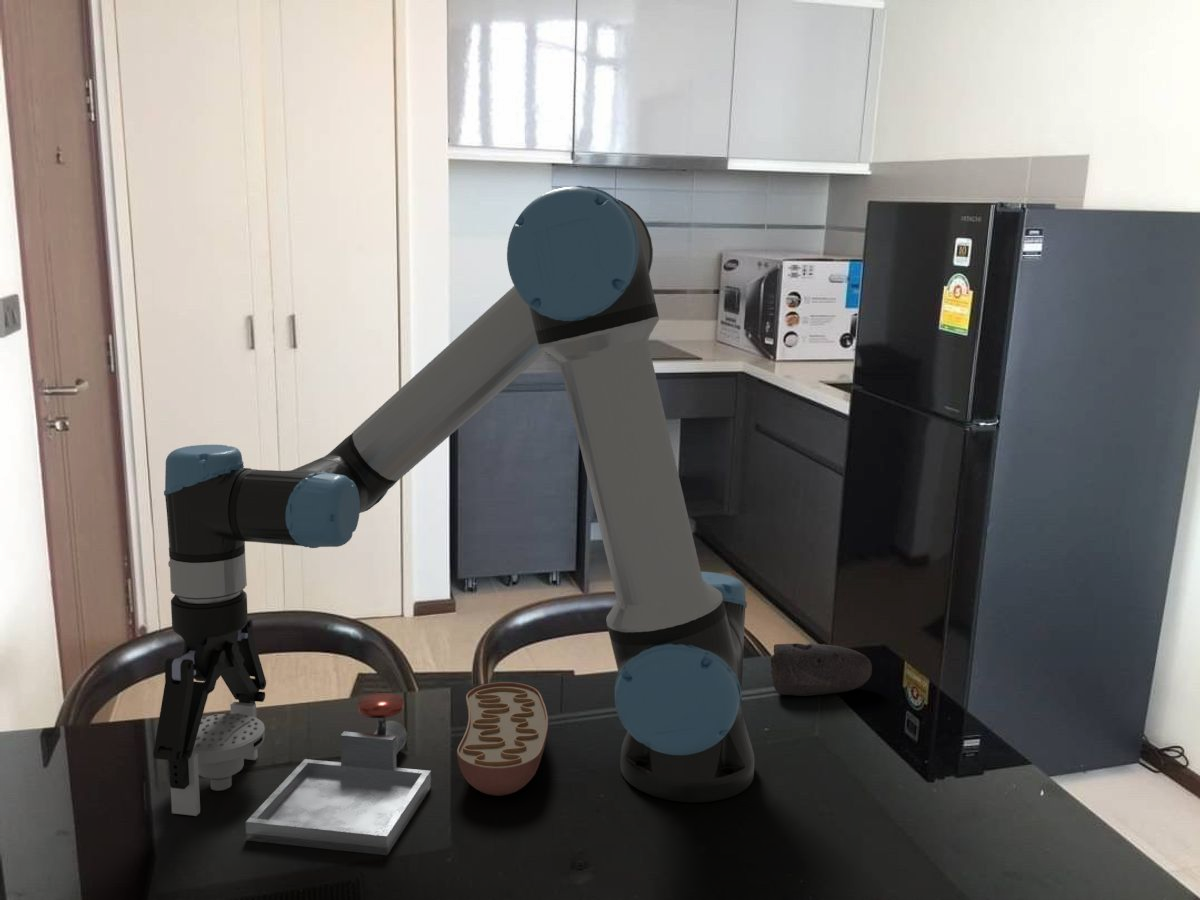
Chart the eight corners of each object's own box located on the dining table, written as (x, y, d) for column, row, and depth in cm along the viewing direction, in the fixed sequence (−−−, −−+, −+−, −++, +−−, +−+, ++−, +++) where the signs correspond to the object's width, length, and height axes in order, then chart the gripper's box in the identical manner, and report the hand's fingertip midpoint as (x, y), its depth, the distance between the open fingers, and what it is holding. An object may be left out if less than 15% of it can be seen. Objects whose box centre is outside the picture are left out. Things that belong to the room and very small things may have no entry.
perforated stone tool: (863, 683, 145) (866, 635, 144) (878, 698, 140) (882, 649, 139) (759, 687, 143) (761, 639, 142) (771, 703, 138) (773, 653, 137)
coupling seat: (387, 855, 100) (385, 784, 99) (246, 840, 103) (243, 770, 101) (452, 754, 121) (451, 694, 120) (334, 744, 124) (332, 685, 122)
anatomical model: (468, 719, 132) (468, 681, 131) (546, 718, 132) (547, 681, 131) (454, 812, 109) (453, 768, 108) (548, 811, 110) (549, 766, 109)
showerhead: (198, 700, 118) (280, 709, 116) (201, 760, 119) (282, 770, 117) (147, 736, 109) (234, 747, 107) (151, 801, 110) (237, 812, 108)
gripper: (232, 559, 122) (239, 732, 126) (105, 628, 98) (118, 838, 102) (293, 563, 121) (298, 738, 125) (179, 634, 97) (189, 846, 101)
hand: (217, 783), depth 113 cm, fingers open, 12 cm apart
